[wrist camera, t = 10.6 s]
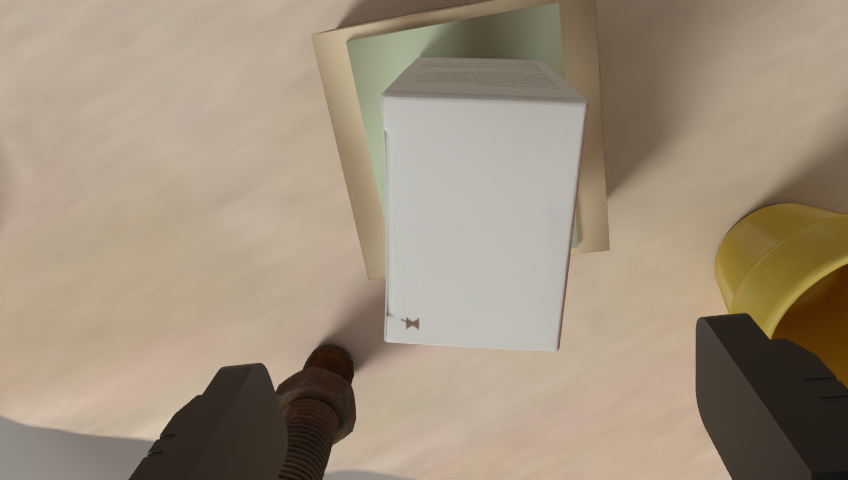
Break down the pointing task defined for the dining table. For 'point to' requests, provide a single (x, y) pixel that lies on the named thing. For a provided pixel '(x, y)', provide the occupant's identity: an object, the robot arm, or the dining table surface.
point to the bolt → (316, 411)
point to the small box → (479, 202)
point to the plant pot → (791, 277)
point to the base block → (457, 38)
